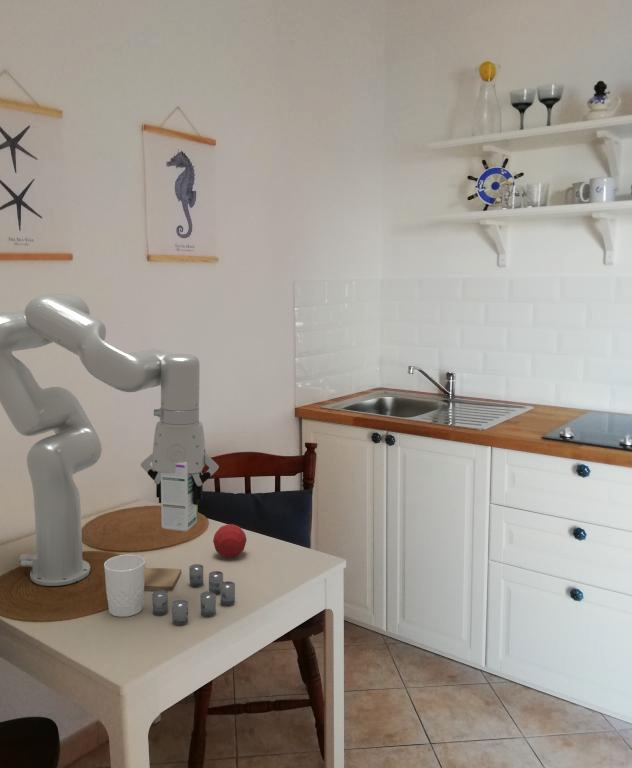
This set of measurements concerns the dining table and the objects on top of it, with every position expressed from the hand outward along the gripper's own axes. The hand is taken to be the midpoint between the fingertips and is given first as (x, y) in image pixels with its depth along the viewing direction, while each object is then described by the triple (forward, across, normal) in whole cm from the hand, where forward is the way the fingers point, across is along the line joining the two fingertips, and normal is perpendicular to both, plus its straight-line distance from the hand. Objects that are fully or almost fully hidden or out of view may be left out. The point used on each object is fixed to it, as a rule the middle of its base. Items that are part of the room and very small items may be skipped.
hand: (179, 501), depth 145 cm
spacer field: (+21, +4, -2) cm, 21 cm away
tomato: (+21, +7, +22) cm, 32 cm away
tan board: (+21, -8, +7) cm, 24 cm away
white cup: (+22, -10, -6) cm, 24 cm away
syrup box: (+5, 0, 0) cm, 5 cm away
